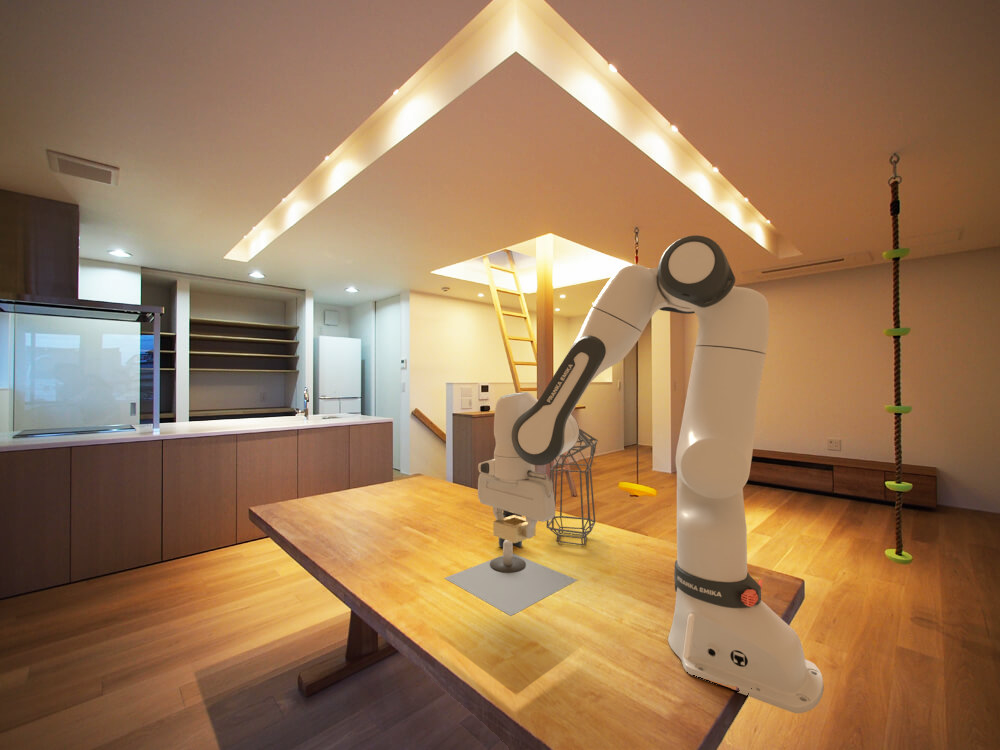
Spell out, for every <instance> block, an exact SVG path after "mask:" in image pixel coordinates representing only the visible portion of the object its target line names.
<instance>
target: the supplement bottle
mask: <svg viewBox="0 0 1000 750" xmlns="http://www.w3.org/2000/svg"><path fill="white" fill-rule="evenodd" d="M502 512H503V515H504V518H506V517H509V516H512V515H516V516H519V517H523V516H521V515H518V514H515V513H511V512H508V511H505V510H504V511H502ZM504 541H505V539H502V538H499V537H498V545H499V547H500V548H501V549H503V543H504ZM512 543H513V542H512ZM522 546H523V540H522V541H520V542H517V543H513V547H515V548H519V549H520V548H522Z"/></svg>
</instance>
